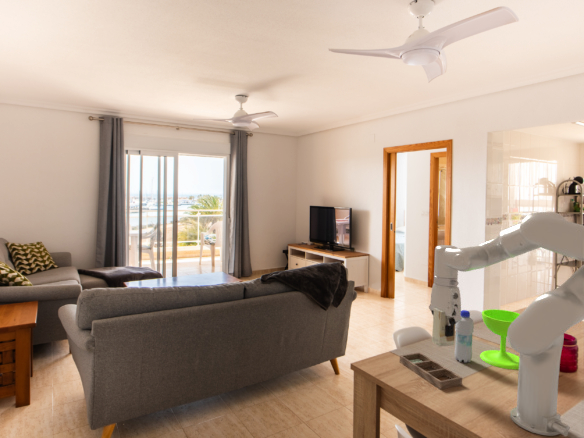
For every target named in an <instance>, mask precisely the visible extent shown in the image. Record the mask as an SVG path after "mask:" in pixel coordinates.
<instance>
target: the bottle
mask: <svg viewBox="0 0 584 438" xmlns="http://www.w3.org/2000/svg"><path fill="white" fill-rule="evenodd" d="M460 316H461V318H462V320H460V321H458V322H457V323H456V325H455V344H454V358H455V359H456V361H458V362H460V363H462V361H463V363H465V364H467V363H470V362H471V361H472V358H473V333H474V329H475V327H474V319H473V318H472V317H471V312H470V311H469V310H467V309H466V310H465V309H463V310H462V309H461V315H460Z"/></svg>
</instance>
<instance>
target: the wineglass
mask: <svg viewBox="0 0 584 438" xmlns="http://www.w3.org/2000/svg"><path fill="white" fill-rule="evenodd" d="M520 314H521V313H519V312H515V311H511V310H506V309H493V308H492V309H491V308H490V309H484V310H482V311H481V317H482V320H483V323H484V325H485V326H486V328H487V329H488V330H489V331H491V332H492V333H494V334H495V335H498V336H500V345H499V348H500V349H499V350H497V349H496V350H495V349H491V350H490V349H489V350H484V351H482V352H481V353H479V358H480V359H481V360H482V361H483V362H484V361H485V362H484V363H486V364H489V365H490V366H493V367H497V368H501V369H506V370H514V371H515V370H519V358H520V355H516V354H514V353H512V352H509V351H506V349H507V331H508V328H509V326H510V324H511V323H512V322H513V321H514V320H515V319H516V318H517V317H518V316H519V315H520Z"/></svg>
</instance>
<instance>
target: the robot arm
mask: <svg viewBox="0 0 584 438" xmlns="http://www.w3.org/2000/svg"><path fill="white" fill-rule="evenodd" d="M537 249H543V250H547V251H550V252H553V253H555V254H559V255H561V256H565V257H568V258H569V259H570V258H571V259H573V260H577V261H581V262H584V224H579V223H577V222H572V221H568V220H567V219H566V218H565V217H564V216H563V215H561V213H558V212H555V211H554V212H553V211H541V212H540V211H539V212H534V213H530V214H528V215H527V216H525V217H523V219H522V220H521V222H518V223H516V224H513V225H512V226H508V227H507V228H504V229H502V230H500V231H499V233H498V236H496V237H495V238H493V239H490V240H488V241H486V242H484V243H481V244H478V245H475V246H469V247H462V248H461V247H459V248H458V247H457V246H455V245H448V244H440V245H436V246H435V248H434V267H433V271H434V272H433V284H432V287H431V293H430V304H429V306H428V309H429V311H430V312H431V314H432V316H433V315H434V308H436V309H438V310H441V311H443V312H444V315H445V316H446V321H447V325H445V336H446V337H450V336H453V335H454V325H456V323H457V322H458V321H460V320H462V318H461V316H460V315H461V311H462V300H461V299H462V298H461V292H460V291H461V290H460V287H458V285H459V281H458V275H459V274H458V273H459V272H463V273H464V272H471V271H474V270H480V269H484V268H487V267H489V266H492V265H495V264H498V263H500V262H503V261H506V260H508V259H512V258H513V259H514V258H516V257H518V256H521V255H524V254H526V253H529V252H531V251H534V250H535V251H536V250H537ZM519 314H520V315H519V316H518V317H517V318H516V319H515V320H514V321H513V322H512V323H511V324H510V326H509V328H508V331H507V337H506V339H507V341H508V344H509V346H510V347H511V348H512V349H513V350H514V351H515V352H516V353H518V354H519V357H520V358H519V369H518V373H517V374H518V377H517V392H516V393H517V396H516V397H517V398H516V406H515V407H513V408H512V409H511V410H510V412H509V413H510V414H509V415H510V419H511V420H512V422H513V423H515V424H516V425H517V426H519V428H522V429H523V430H526V431H529V432H530V433H533V434H536V435H541V436H549V437H551V436H552V437H555V436H557V435H562V436H564V437H568V436H569V433H570V432H569V431H570V425H568V424H567V423H564V422H562V420H561V414H560V413H558V398H559V397H558V396H559V395H558V393H559V392H558V391H559V378H560V377H559V376H560V366H561V365H560V364H561V356H562V350H563V346H564V337H565V334H564V333H566V332H568V330H569V329H570V328H572V327H574V326H575V325H577V324H579V323H581V322H582V321H583V320H584V264H583V265H581V266H580V267H579V268H578V269H576V270H575V271H574V273H573V274H571V276H569V278H568V279H567V280H565V282H563V283H562V284H561V285H559V287H557V288H555V289H554V288H553V289H551V290H550V291H547V292H545V293H542V294H540V295H539V296H537V297H536V298H535V299H534V300H533V301H532V302H531V303H530V304H529V305H528V306H527V307H526V308H525V309H524V310H523V311H522V312H520V313H519ZM450 318H451V320H450Z"/></svg>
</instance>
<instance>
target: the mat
mask: <svg viewBox="0 0 584 438" xmlns="http://www.w3.org/2000/svg"><path fill="white" fill-rule="evenodd" d="M409 361H411V362H412V363H417V362H422V360H420V359H415V360H409Z"/></svg>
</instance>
